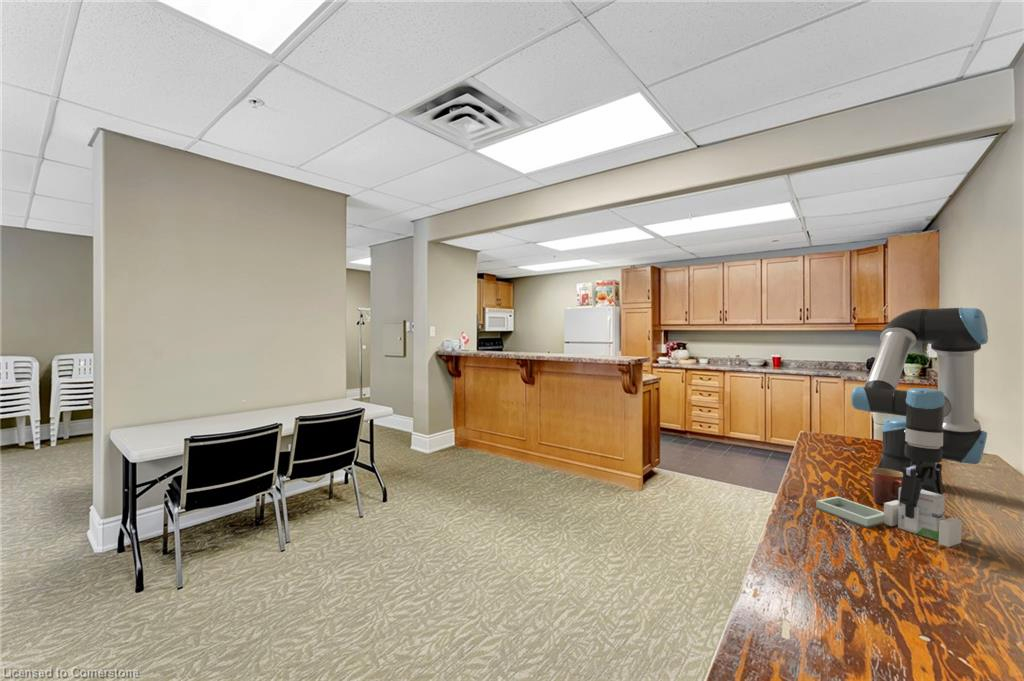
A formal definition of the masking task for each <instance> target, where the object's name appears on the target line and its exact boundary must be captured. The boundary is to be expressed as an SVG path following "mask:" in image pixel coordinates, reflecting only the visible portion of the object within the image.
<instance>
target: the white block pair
mask: <svg viewBox="0 0 1024 681" xmlns="http://www.w3.org/2000/svg"><path fill="white" fill-rule="evenodd" d="M883 512H884V524H883V525H887V526H889V527H895V526H898V500H895V501H890V502H886V503H884V505H883ZM962 524H963V520H961V519H958V518H955V517H949V518H945V519H944V520H941V521H939V540H938V541H937V542H938V543H937V544H939V545H941V546H945V547H947V548H949V547H953V546H956V545H959V544H961V543H962V529H963V528H962Z"/></svg>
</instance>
